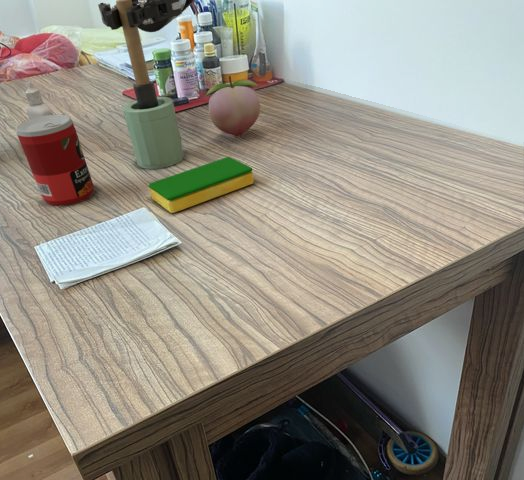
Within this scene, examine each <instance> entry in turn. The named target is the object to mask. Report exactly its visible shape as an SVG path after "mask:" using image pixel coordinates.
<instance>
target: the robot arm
mask: <svg viewBox="0 0 524 480" xmlns="http://www.w3.org/2000/svg"><path fill="white" fill-rule="evenodd" d="M195 1H196V0H132V5H133V7H131V8H129V9H127V10H126V13H127V17H128V22H129V26H130V28H134V27H138V30H140V31H143V32H146V33H156V32H158V31H161V30H162V29H163V28H164V27H166V26H167V25H169V24H170V23H171V22H172V21H173V20H175V19H177V18H178V17H179V16H181V15H183V13H184V12H185V11H186V10H187V9H188V8H189V7H190V6H191V5H192V4H193V3H194V2H195ZM97 6H98V10H99V13H100V18H101V20H102V24H104V25H105V26H106V27H107V28H110V30H112V31H113V30H118V29H121V28H122V24H121V20H120V16H119V12H118V8H117V4H116V3H115V4H114V5H113V6H112V7H111V3H105V2H100V3H98V4H97Z"/></svg>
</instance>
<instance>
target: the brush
mask: <svg viewBox="0 0 524 480" xmlns="http://www.w3.org/2000/svg"><path fill="white" fill-rule="evenodd" d="M116 4H117V8H118V12H119V16H120V20H121V24H122V27H121V29H122V33H123V36H124V40H125V45H126V48H127V51H128V57H129V60H130V64H131V65H130V66H131V70H132V72H133V77H134V81H135V83H134V84H133V86H132V87H133V90H134V94H135V98H136V100H137V103H138V107H139V110H142V109H150V108H154V107H157V106H159V104H158V100H157V97H158V95H157V91H156V88H155V87H156V86H155V83H154V81H152V80H151V79H150V75H149V70H148V66H147V61H146V58H145V54H144V48H143V44H142V40H141V36H140V31H139V28H138V27H134V28H130V26H129V22H128V17H127V13H126V10H127V9H129V8H131V7H133V5H132V0H116V1H115V5H116Z"/></svg>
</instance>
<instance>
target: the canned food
mask: <svg viewBox="0 0 524 480" xmlns="http://www.w3.org/2000/svg"><path fill="white" fill-rule="evenodd" d="M15 132H16V135H17V138H18V141H19V143H20V146H21V148H22V150H23V153H24V156H25V158H26V160H27V161H26V162H27V163H28V166H29V168H30V171H31V173H32V175H33V177H34V180H35V182H36V185H37V187H38V190H39V192H40V195H41V197H42V199H43V200H44V202H45V203H46V204H48V205H50V206H54V207H62V206H63V207H64V206H72V205H75V204H78V203H81V202H83V201H85V200H87V199H88V198H91V196H92V195H93V194H94V191H95V190H94V189H95V187H94V182H93V179H92V176H91V173H90V170H89V166H88V164H87V161H86V158H85V154H84V151H83V148H82V145H81V143H80V142H81V141H80V139H79V135H78V133H77V130H76V128H75V124H74V122H73V119H72V117H71V116H70V115H66V114H53V115H47V116H42V117H37V118H33V119H30V120H29V119H27V120H25V121H23V122H21V123H19V124H17V126H16V127H15Z"/></svg>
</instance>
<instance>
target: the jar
mask: <svg viewBox="0 0 524 480" xmlns="http://www.w3.org/2000/svg"><path fill="white" fill-rule="evenodd" d="M157 100H158V104H159V106H157V107H154V108H150V109H142V110H139V107H138V103H137V99H136V100H134V101H130V102H128V103H126V104H125V105H124V106H122V112H123V115H124V119H125V123H126V127H127V131H128V135H129V139H130V142H131V145H132V149H133V153H134V154H133V155H134V157H135V161H136V164H137V166H138V167H139V168H141V169H146V170H158V169H163V168H168V167H171V166H173V165H177V164H179V163H180V162H182V160H183V159H184V156H185V155H184V148H183V144H182V138H181V133H180V130H179V124H178V120H177V114H176V109H175V104H174V100H173V98H171V97H167V96H157Z"/></svg>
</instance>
